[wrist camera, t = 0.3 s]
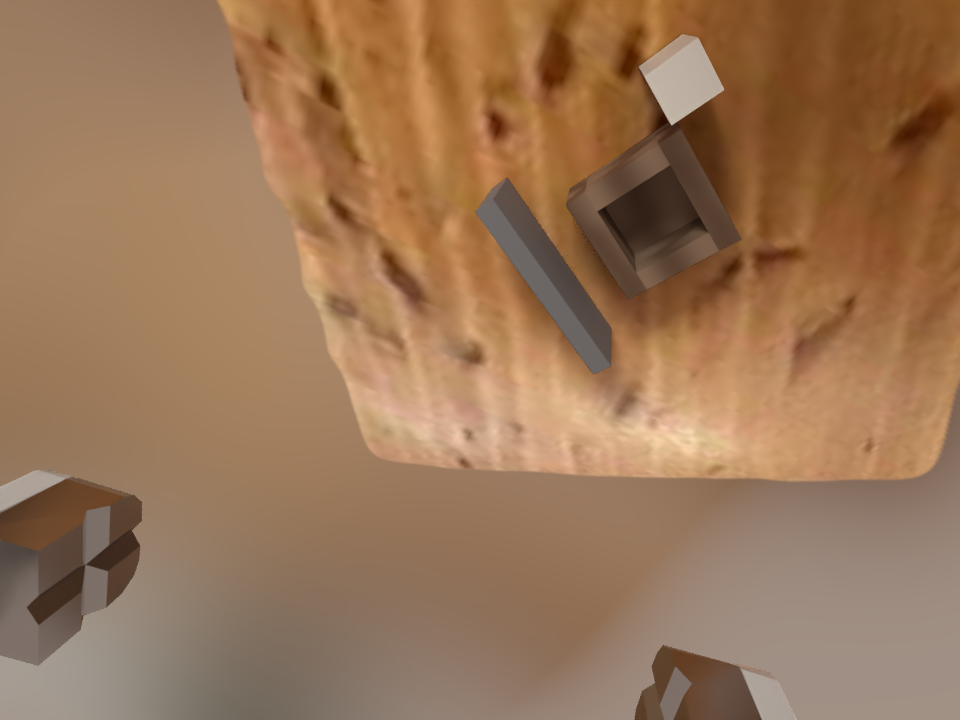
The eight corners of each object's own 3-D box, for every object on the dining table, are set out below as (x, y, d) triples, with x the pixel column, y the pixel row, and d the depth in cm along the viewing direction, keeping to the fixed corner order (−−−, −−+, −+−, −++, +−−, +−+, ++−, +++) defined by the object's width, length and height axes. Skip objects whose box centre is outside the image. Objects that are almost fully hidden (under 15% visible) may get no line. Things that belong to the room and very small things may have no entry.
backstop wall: (507, 177, 54) (492, 199, 48) (610, 328, 61) (610, 366, 54) (491, 188, 55) (475, 212, 48) (595, 336, 61) (593, 374, 55)
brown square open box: (674, 118, 49) (681, 129, 44) (729, 218, 52) (741, 239, 47) (570, 188, 54) (566, 205, 49) (626, 275, 57) (628, 299, 52)
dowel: (682, 34, 45) (697, 37, 37) (704, 77, 46) (724, 89, 38) (638, 66, 47) (644, 76, 39) (661, 107, 48) (671, 125, 40)
